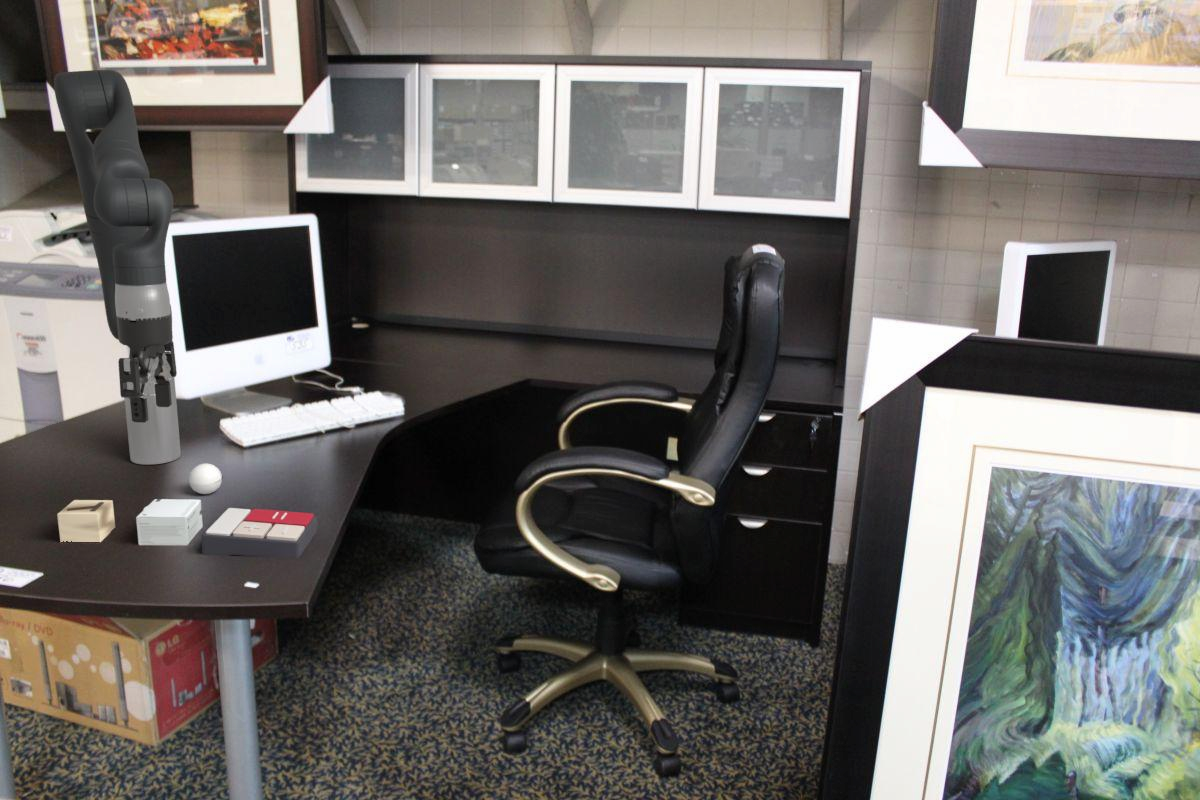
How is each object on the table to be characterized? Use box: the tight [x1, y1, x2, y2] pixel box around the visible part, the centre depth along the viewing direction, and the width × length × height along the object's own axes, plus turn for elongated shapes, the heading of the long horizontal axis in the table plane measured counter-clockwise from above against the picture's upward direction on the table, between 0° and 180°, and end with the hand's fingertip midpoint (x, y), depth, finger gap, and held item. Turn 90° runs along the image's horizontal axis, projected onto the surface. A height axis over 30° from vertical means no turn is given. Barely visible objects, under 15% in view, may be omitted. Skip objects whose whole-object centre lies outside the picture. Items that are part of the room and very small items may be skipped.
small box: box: [135, 498, 203, 546], centre depth 153 cm, size 8×8×5 cm
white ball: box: [188, 462, 223, 495], centre depth 173 cm, size 8×6×6 cm
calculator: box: [201, 507, 318, 559], centre depth 153 cm, size 11×4×15 cm
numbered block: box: [57, 499, 116, 543], centre depth 152 cm, size 6×6×5 cm
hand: (152, 414), depth 148 cm, fingers open, 8 cm apart
